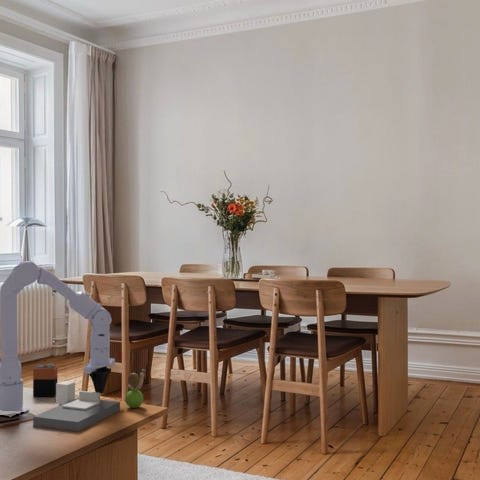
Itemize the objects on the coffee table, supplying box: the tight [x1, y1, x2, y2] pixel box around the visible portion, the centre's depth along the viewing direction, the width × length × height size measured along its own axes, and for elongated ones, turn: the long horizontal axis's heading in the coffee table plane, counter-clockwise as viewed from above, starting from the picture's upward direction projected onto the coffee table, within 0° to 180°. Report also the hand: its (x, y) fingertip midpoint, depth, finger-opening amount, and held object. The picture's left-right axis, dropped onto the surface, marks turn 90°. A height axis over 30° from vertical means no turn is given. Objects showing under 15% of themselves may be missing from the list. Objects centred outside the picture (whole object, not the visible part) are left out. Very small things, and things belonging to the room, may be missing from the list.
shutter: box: [62, 390, 101, 410], centre depth 182 cm, size 8×9×3 cm
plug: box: [55, 380, 76, 406], centre depth 192 cm, size 4×4×7 cm
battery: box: [32, 363, 59, 398], centre depth 204 cm, size 4×7×10 cm, turn 93°
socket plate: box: [32, 397, 121, 432], centre depth 179 cm, size 14×22×2 cm, turn 161°
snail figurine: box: [124, 368, 146, 409], centre depth 190 cm, size 5×6×12 cm
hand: (99, 393), depth 191 cm, fingers closed
